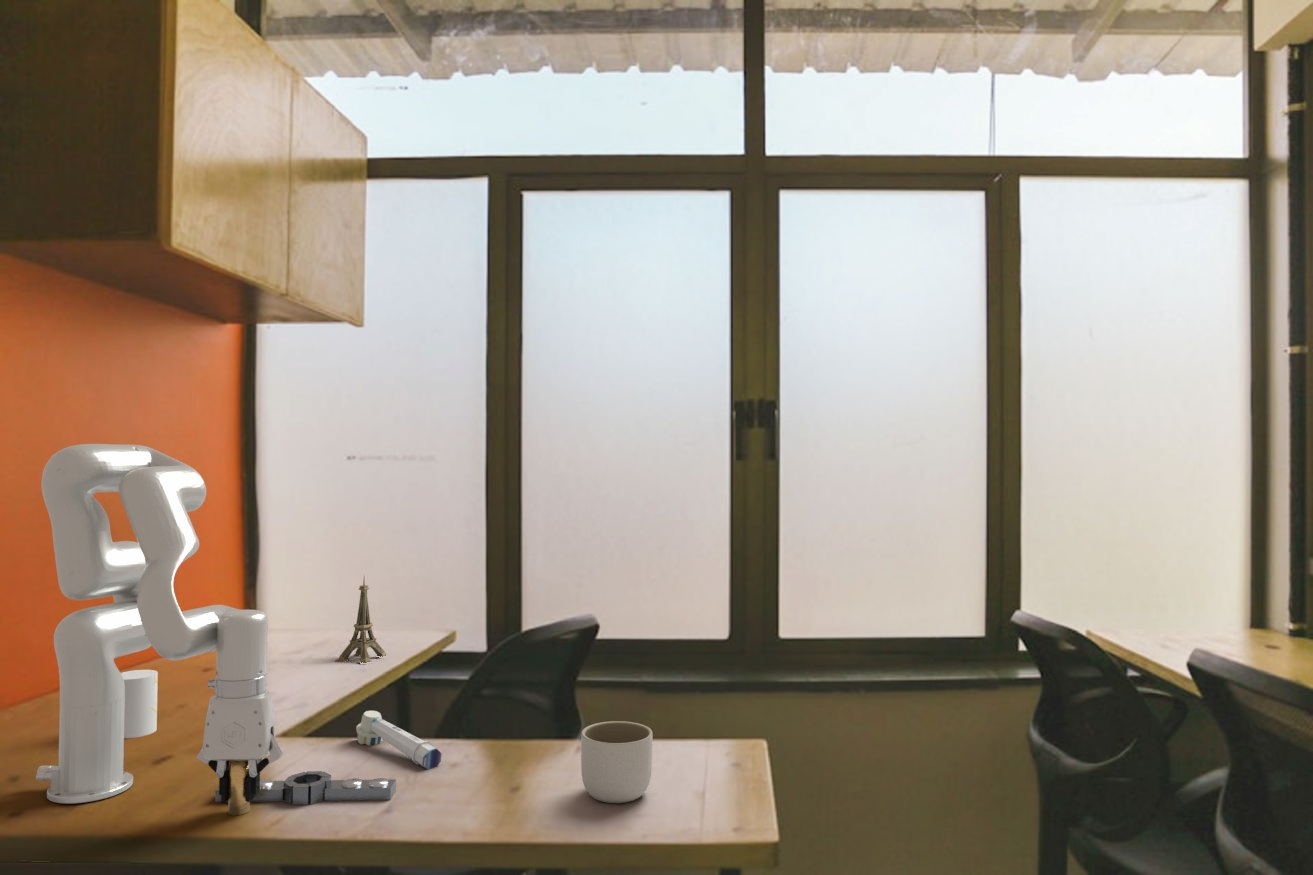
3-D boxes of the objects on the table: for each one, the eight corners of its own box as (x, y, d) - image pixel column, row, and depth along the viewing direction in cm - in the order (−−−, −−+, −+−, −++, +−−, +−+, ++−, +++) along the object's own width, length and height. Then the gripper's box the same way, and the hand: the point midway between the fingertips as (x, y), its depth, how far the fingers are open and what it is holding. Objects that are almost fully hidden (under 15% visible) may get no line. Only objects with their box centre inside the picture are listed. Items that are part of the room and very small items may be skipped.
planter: (658, 784, 158) (659, 723, 158) (642, 812, 146) (643, 746, 146) (592, 778, 161) (593, 718, 161) (570, 804, 149) (571, 740, 149)
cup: (162, 731, 184) (163, 674, 184) (118, 741, 178) (119, 681, 178) (149, 723, 190) (150, 667, 190) (106, 731, 184) (107, 674, 184)
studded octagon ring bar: (211, 805, 147) (211, 787, 147) (229, 789, 154) (229, 772, 154) (388, 803, 148) (388, 785, 149) (397, 787, 156) (398, 770, 156)
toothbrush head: (422, 751, 163) (353, 706, 180) (418, 786, 164) (350, 738, 180) (446, 745, 167) (376, 701, 184) (442, 779, 168) (373, 732, 184)
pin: (224, 815, 143) (226, 759, 143) (233, 807, 146) (234, 752, 146) (245, 815, 143) (246, 759, 143) (252, 807, 146) (253, 752, 146)
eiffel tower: (359, 653, 257) (360, 567, 257) (389, 656, 253) (391, 569, 253) (334, 661, 247) (336, 572, 247) (366, 665, 243) (367, 574, 243)
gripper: (179, 693, 141) (176, 808, 140) (284, 692, 142) (282, 807, 141) (200, 680, 148) (198, 790, 148) (300, 680, 149) (298, 789, 149)
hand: (239, 797), depth 145 cm, fingers closed on pin, 3 cm apart
